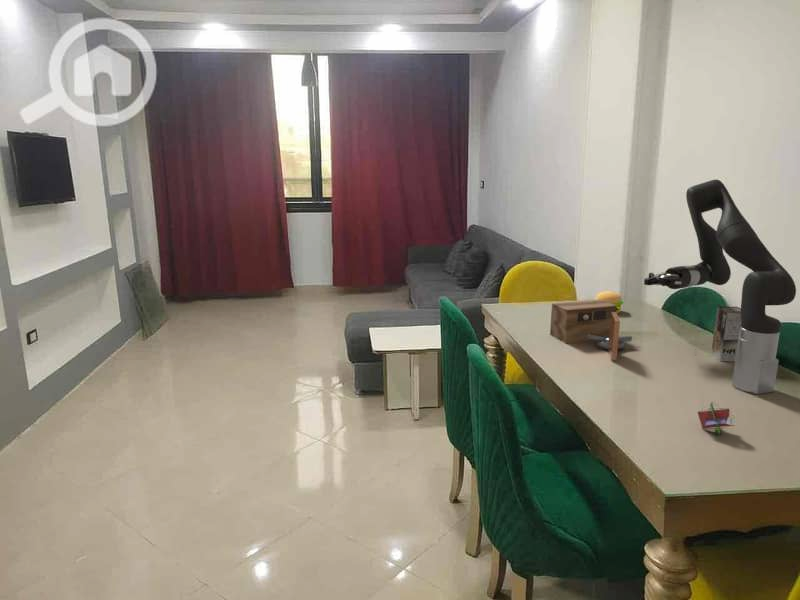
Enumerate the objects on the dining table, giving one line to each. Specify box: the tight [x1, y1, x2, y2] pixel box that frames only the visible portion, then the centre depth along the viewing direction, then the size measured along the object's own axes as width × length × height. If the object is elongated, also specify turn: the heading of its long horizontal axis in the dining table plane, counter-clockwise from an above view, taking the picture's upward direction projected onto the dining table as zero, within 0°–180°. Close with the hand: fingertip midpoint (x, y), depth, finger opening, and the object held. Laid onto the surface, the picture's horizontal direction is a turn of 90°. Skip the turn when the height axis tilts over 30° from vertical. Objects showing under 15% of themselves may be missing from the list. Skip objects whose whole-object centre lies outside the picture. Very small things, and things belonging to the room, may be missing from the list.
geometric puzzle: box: [697, 401, 736, 437], centre depth 131 cm, size 7×7×8 cm
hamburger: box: [593, 290, 624, 314], centre depth 236 cm, size 12×12×9 cm
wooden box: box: [549, 299, 616, 344], centre depth 201 cm, size 12×20×12 cm, turn 106°
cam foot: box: [587, 312, 633, 361], centre depth 185 cm, size 20×14×13 cm
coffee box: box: [711, 305, 741, 363], centre depth 179 cm, size 9×6×16 cm
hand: (646, 281), depth 182 cm, fingers closed
